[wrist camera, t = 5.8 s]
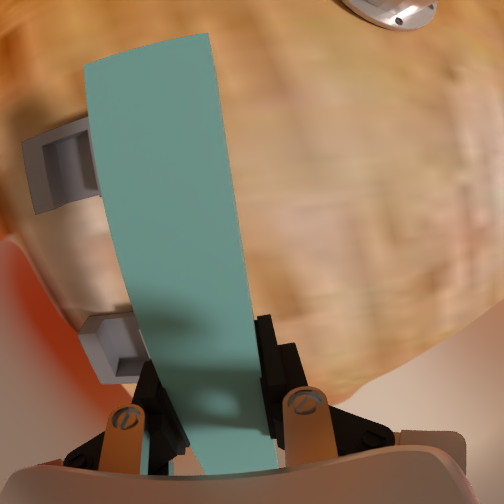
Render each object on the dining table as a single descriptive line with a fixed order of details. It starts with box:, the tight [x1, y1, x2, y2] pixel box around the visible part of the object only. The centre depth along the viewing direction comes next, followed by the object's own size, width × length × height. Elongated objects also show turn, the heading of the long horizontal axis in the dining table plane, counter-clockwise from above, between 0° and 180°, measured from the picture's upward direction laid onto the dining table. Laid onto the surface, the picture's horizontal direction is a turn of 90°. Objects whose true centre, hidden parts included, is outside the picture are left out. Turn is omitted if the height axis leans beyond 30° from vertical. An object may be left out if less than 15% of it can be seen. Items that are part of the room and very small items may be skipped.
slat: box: [84, 33, 279, 475], centre depth 11 cm, size 21×3×4 cm, turn 8°
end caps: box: [21, 117, 151, 384], centre depth 26 cm, size 25×9×4 cm, turn 8°
